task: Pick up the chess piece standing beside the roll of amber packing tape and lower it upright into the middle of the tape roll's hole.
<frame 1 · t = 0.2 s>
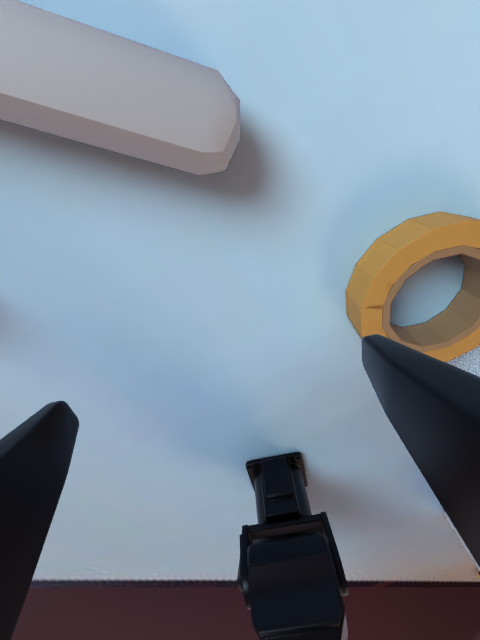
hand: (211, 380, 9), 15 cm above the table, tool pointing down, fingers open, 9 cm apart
tape roll: (417, 287, 24), on the table
small box: (476, 499, 41), on the table
tube: (19, 71, 16), on the table
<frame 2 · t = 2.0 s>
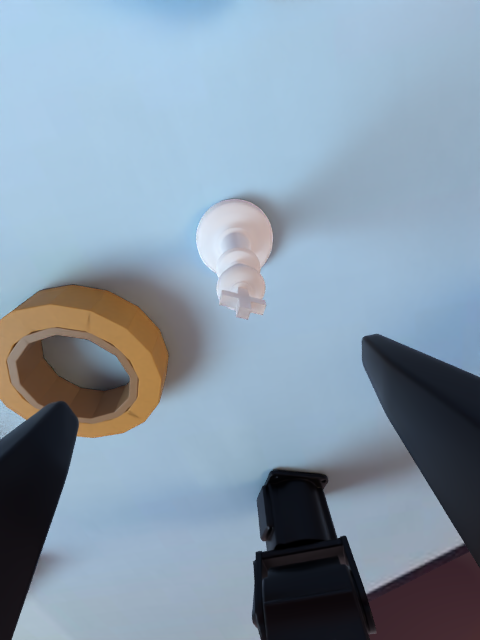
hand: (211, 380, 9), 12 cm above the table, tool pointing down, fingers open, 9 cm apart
tape roll: (92, 354, 23), on the table
chess piece: (234, 238, 19), on the table
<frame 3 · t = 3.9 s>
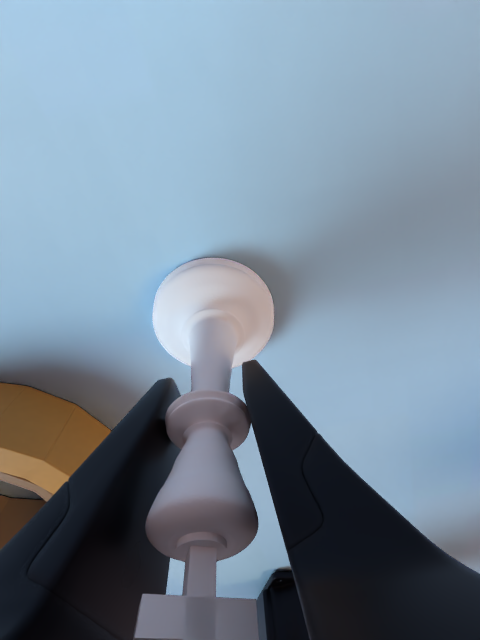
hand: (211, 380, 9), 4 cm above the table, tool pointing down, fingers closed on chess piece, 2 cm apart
tape roll: (18, 461, 16), on the table
chess piece: (214, 312, 12), on the table, touching gripper
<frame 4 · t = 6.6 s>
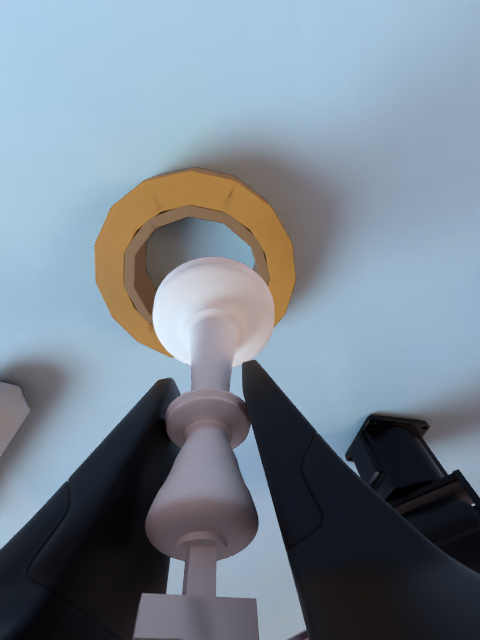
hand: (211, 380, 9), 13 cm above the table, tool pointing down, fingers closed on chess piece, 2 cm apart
tape roll: (200, 265, 20), on the table
chess piece: (214, 311, 12), point 8 cm above the table, touching gripper
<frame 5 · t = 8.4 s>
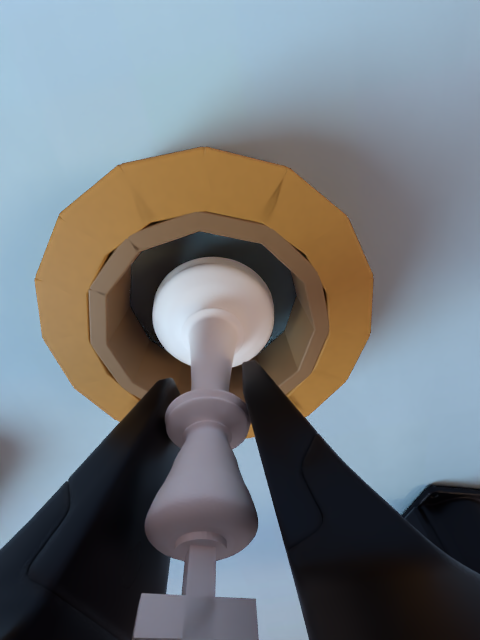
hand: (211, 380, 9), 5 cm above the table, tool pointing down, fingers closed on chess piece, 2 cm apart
tape roll: (213, 300, 13), on the table
chess piece: (214, 311, 12), point 1 cm above the table, touching gripper
when the fingers open (4 cm above the table, at t = 9.1 s): chess piece stays where it is, resting in tape roll.
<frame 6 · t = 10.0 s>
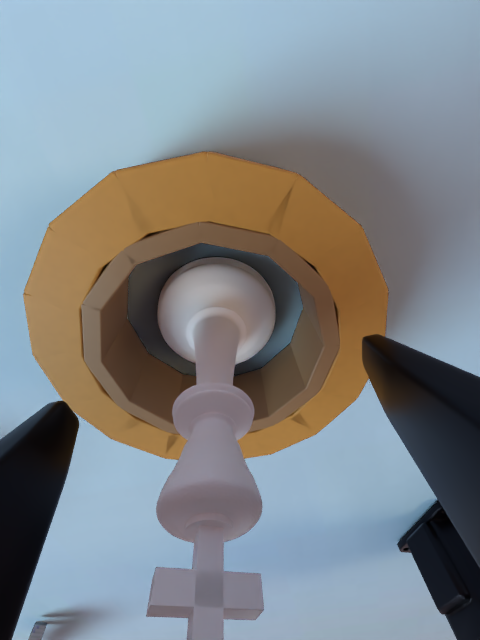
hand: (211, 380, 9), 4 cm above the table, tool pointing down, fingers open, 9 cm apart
tape roll: (215, 311, 12), on the table
chess piece: (217, 310, 13), resting in tape roll
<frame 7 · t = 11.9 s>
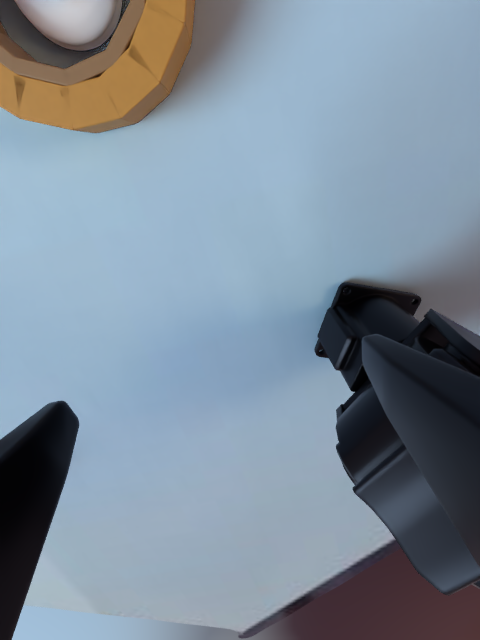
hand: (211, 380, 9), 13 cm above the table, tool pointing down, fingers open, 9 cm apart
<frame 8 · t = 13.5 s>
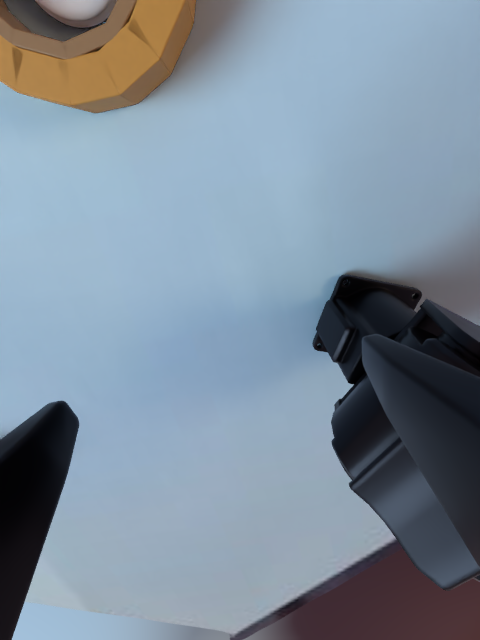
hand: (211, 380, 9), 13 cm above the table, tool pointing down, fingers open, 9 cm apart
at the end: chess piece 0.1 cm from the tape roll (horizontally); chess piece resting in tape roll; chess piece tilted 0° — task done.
